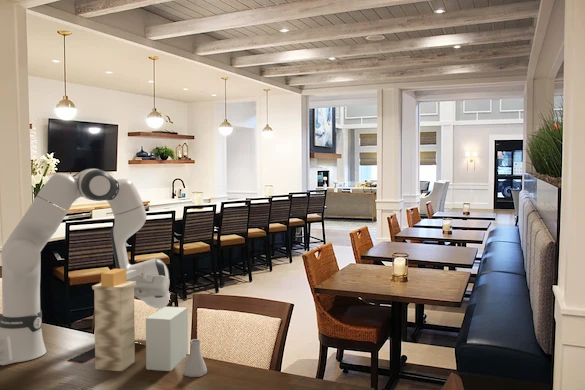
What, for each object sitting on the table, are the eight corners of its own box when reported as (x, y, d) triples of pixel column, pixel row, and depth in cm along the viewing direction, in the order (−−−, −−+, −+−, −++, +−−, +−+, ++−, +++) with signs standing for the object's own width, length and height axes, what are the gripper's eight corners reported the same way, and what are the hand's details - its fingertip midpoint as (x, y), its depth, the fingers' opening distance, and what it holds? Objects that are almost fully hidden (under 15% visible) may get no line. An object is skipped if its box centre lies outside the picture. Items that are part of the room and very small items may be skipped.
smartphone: (65, 360, 163) (96, 346, 176) (65, 362, 163) (96, 348, 176) (82, 363, 161) (112, 349, 174) (82, 365, 161) (112, 350, 174)
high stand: (93, 369, 156) (92, 285, 155) (108, 359, 164) (107, 280, 163) (123, 371, 154) (122, 287, 153) (136, 361, 163) (135, 281, 162)
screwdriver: (113, 286, 154) (113, 273, 154) (101, 286, 154) (101, 273, 154) (139, 275, 171) (139, 264, 170) (128, 275, 171) (128, 263, 171)
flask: (202, 379, 149) (202, 345, 149) (179, 376, 151) (179, 343, 150) (211, 369, 156) (210, 337, 156) (189, 367, 158) (189, 336, 157)
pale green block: (146, 369, 156) (145, 318, 156) (165, 353, 170) (164, 306, 169) (170, 371, 155) (170, 319, 154) (187, 355, 169) (187, 307, 168)
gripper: (120, 277, 183) (102, 264, 171) (174, 279, 179) (159, 266, 167) (116, 294, 180) (97, 282, 168) (170, 297, 177) (155, 284, 164)
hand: (129, 274), depth 168 cm, fingers open, 8 cm apart
